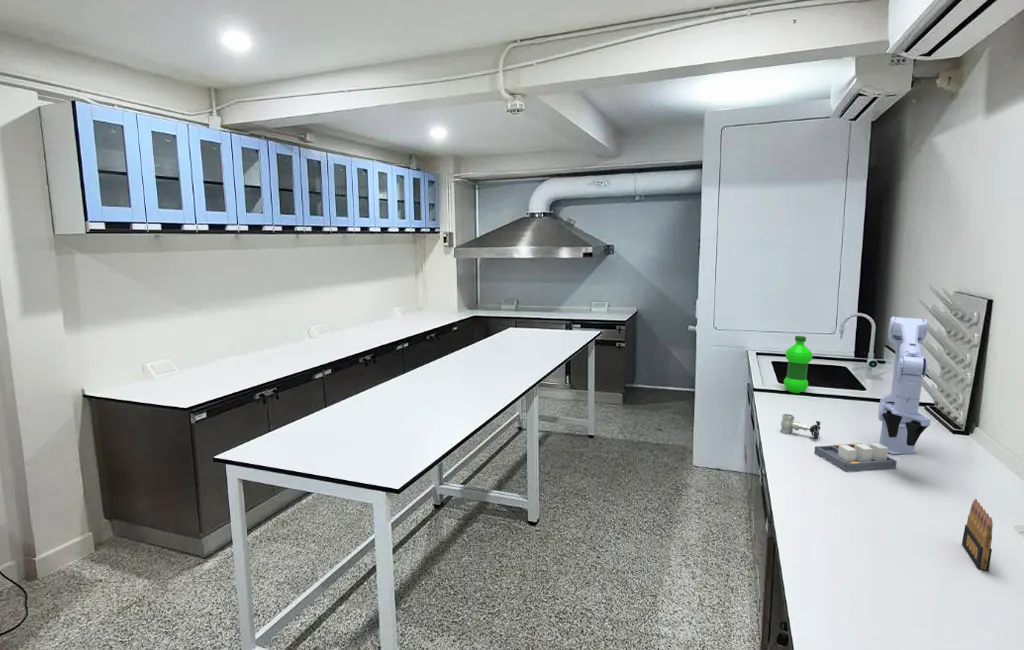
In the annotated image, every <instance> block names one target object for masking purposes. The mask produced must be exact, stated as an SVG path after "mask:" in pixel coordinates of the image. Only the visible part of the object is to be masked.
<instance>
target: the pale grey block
mask: <svg viewBox="0 0 1024 650" xmlns="http://www.w3.org/2000/svg"><path fill="white" fill-rule="evenodd" d="M879 443H880V442H873V443H869V447H870V448H872V449H873V450H872V458H874V459H876V460H878V461H882V460H887V456H888V455H889V453H888V447H885V446H883V445H881V444H879Z"/></svg>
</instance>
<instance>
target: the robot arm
mask: <svg viewBox="0 0 1024 650" xmlns="http://www.w3.org/2000/svg"><path fill="white" fill-rule="evenodd" d="M928 326H929V322H928V320H927V319H926V318H915V317H914V318H912V317H899V316H893V315H892V316H891V317H890V318H889V325H888V335H887V338H888V342H889V343H892V344H893V345H894V350H895V353H894V364H893V372H892V381H891V391H890V393H888V394H886V395H883V396H882V397H881V398H880V399H879V405H878V415H877V419H878V420H879V421H881V430H880V436H879V437H880V438H879V442H878V443H879V444H881V445H883V446H885V447H888V454H889V455H902V454H904V455H905V454H917V450H915V446H916V443H917V441H918V440H919V438H920V436H921V435H922V433H923V432H925V430H926V429H927V428H928V427H930V426H931V419H930V418H928V417H926V416H924V415H923V414H921V413H920V412H919V406H920V398H921V392H922V386H923V385H922V384H923V378H925V376H926V373H927V369H928V359H927V357H926V356H924V351H923V346H922V344H923V342H924V340H925V339H926V337H927V334H928V328H929V327H928Z"/></svg>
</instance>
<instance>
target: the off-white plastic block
mask: <svg viewBox="0 0 1024 650" xmlns="http://www.w3.org/2000/svg"><path fill="white" fill-rule="evenodd" d="M856 452H857V450H856V449H854V448H852V447H850V446H848V445H845V444H843V445H839V448H838V458H839V459H841V460H843V461H845V462H847V463H850V462H855V460H856Z"/></svg>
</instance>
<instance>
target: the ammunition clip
mask: <svg viewBox="0 0 1024 650" xmlns="http://www.w3.org/2000/svg"><path fill="white" fill-rule="evenodd" d="M966 522H967V523H966V524H965V525H964V530H963V536H962V540H961V541H962V543H961V546H962V547H963V549H964V550H965V552H966V553H967V555H968V556H969V558H970V560H971V561H972V562H973V564H974V565H975V567H976V569H977V570H979V571H986V572H990V571H989V570H990V565H991V557H992V547H991V546H992V541H993V527H994V525H993V524H994V523H993V518H992V517H991V516H990V514H989V513H987V511H986V509H984V508H983V506H982V505H981V503H980V502H978V499H977V498H974V500H973V501H972V503H971V506H970V511H969V514H968V516H967V521H966Z"/></svg>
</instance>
